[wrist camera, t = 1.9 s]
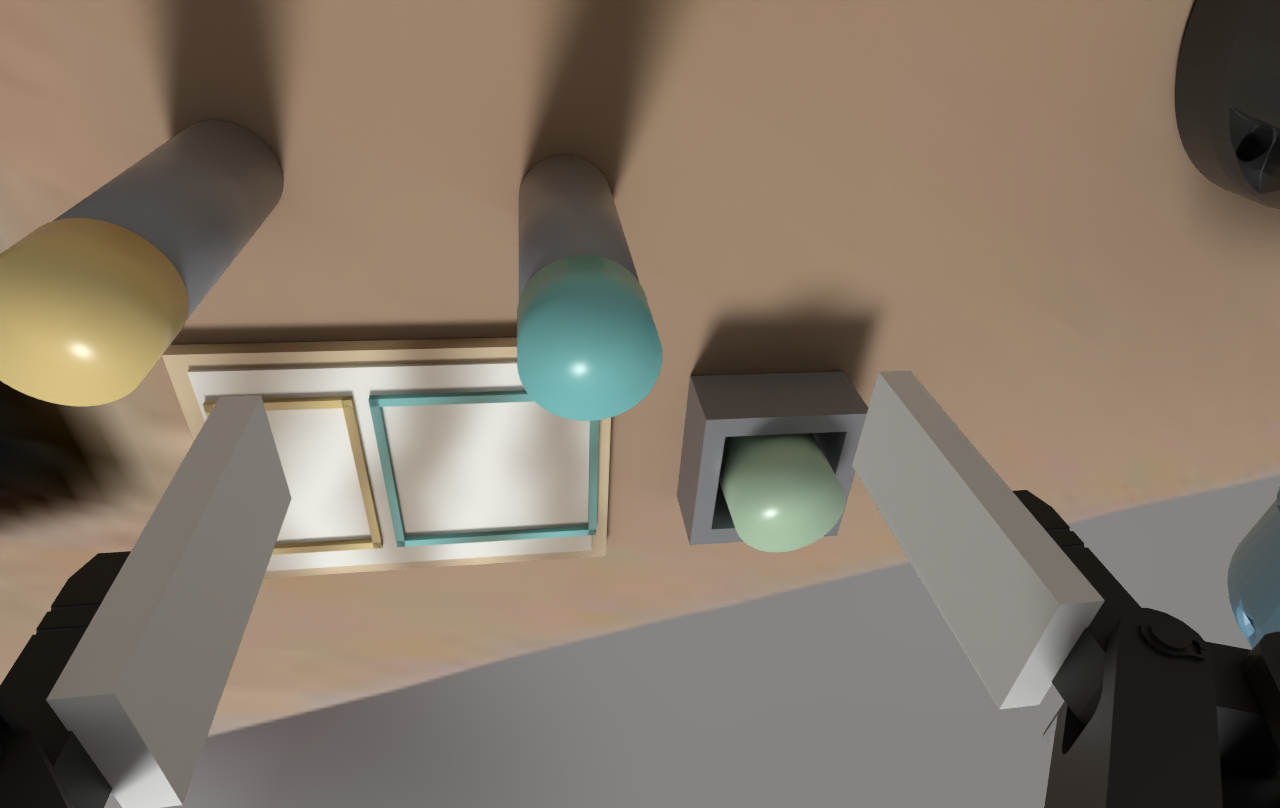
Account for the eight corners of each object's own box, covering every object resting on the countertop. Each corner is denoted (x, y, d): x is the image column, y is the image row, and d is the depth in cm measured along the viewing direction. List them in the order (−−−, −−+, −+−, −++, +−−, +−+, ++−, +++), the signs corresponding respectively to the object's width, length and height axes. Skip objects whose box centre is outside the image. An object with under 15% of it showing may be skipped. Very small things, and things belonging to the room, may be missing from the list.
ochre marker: (271, 119, 25) (115, 260, 15) (294, 222, 27) (170, 403, 17) (155, 117, 25) (-82, 261, 15) (188, 222, 27) (-2, 409, 17)
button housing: (842, 371, 35) (871, 413, 32) (813, 488, 39) (836, 535, 36) (690, 375, 34) (706, 420, 31) (676, 496, 38) (690, 545, 35)
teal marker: (614, 153, 27) (667, 295, 18) (611, 246, 29) (657, 418, 20) (515, 152, 27) (513, 297, 17) (519, 246, 29) (520, 423, 19)
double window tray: (611, 335, 32) (615, 350, 31) (604, 545, 39) (606, 562, 38) (169, 344, 29) (156, 361, 28) (250, 567, 37) (243, 587, 36)
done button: (825, 414, 34) (856, 465, 31) (805, 494, 37) (832, 548, 34) (721, 417, 33) (742, 471, 30) (710, 499, 36) (727, 555, 33)
